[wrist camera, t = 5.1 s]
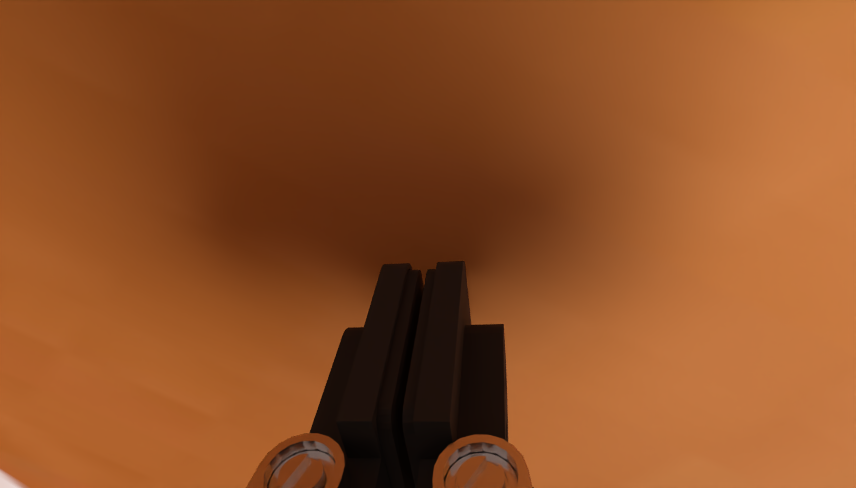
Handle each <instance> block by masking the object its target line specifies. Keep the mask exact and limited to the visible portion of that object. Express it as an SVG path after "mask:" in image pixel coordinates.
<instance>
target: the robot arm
mask: <svg viewBox="0 0 856 488" xmlns="http://www.w3.org/2000/svg"><path fill="white" fill-rule="evenodd" d="M246 488H533V487H532V483H531V478H530V474H529V470H528V467H527V464H526V462H525V460H524V457H523V456H522V454H521V453H520V452H519V451H518V450H517V449H516V448H515V446H513V445H512V444H510V443H509V442H508V414H507V378H506V356H505V339H504V325H503V324H490V325H471V318H470V308H469V298H468V288H467V279H466V269H465V263H464V261H454V262H438V263H437V266H436V269H429V270H427V273H426V279H425V285H424V287H423V280H422V274H421V271H420V270H412V267H411V265H410V264H409V263H404V264H384V265H383V266H382V268H381V271H380V275H379V278H378V281H377V285H376V288H375V291H374V295H373V298H372V302H371V305H370V308H369V312H368V315H367V318H366V322H365V325H364V327H359V328H347V329H346V330H345V332H344V334H343V336H342V339H341V342H340V345H339V348H338V351H337V354H336V357H335V359H334V362H333V365H332V368H331V371H330V374H329V377H328V380H327V383H326V386H325V389H324V392H323V395H322V398H321V401H320V404H319V407H318V410H317V413H316V416H315V418H314V421H313V424H312V427H311V430H310V433H305V434H301V435H297V436H293V437H291V438H289V439H287V440H285V441H283V442H281V443H279V444H278V445H277V446H275V447H274V448H273V449H272V450H271V451H269V452H268V453H267V455H266V456H265V457H264V459H263V460H262V461H261V463H260V464H259V466H258V467H257V469H256V471H255V473H254V474H253V476H252V478H251V480H250V481H249V483H248V485H247V487H246Z"/></svg>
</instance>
